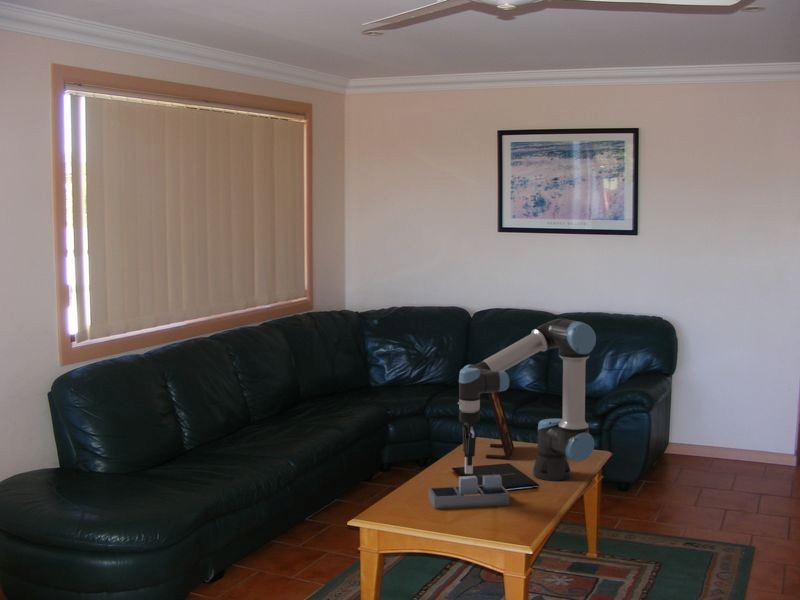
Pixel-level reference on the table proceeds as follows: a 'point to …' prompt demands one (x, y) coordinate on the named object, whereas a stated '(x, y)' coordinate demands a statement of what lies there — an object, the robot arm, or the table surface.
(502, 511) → the table surface
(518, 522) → the table surface
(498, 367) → the robot arm
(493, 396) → the picture frame
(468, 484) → the block
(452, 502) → the rack
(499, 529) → the table surface
